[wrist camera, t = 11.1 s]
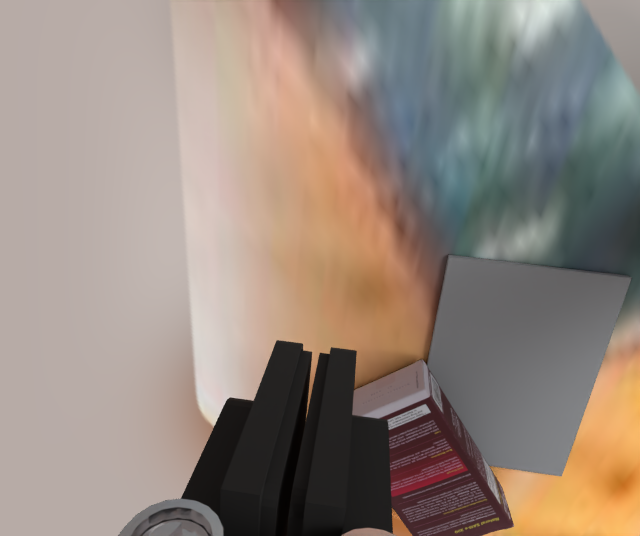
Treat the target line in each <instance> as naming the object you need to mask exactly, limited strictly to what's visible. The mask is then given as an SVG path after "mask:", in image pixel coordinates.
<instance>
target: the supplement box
mask: <svg viewBox="0 0 640 536" xmlns="http://www.w3.org/2000/svg"><path fill="white" fill-rule="evenodd" d="M352 415H357V416H364V417H372V418H379V419H386V420H388V426H389V450H390V476H391V502H392V507H393V509H394V510H395V511H396V513H397V514H398V516H399V517H400V519H401V520H402V521H403V523H404V524H405V525H406V527H407V528H408V530H409V531H410V533H411V534H412V535H413V536H482V535H485V534H487V533H490V532H494V531H498V530H501V529H508V528H512V527H514V524H513V521H512V518H511V514H510V511H509V508H508V504H507V501H506V498H505V495H504V492H503V489H502V487H501V485H500V483H499V482H498V480H497V478H496V477H495V475H494V473H493V472H492V470H491V469H490V467H489V465H488V464H487V462H486V460H485V459H484V457H483V456H482V454H481V452H480V451H479V449H478V447H477V446H476V444H475V443H474V441H473V439H472V438H471V436H470V435H469V433H468V431H467V430H466V428H465V426H464V425H463V423H462V422H461V420H460V418H459V417H458V415H457V414H456V412H455V410H454V409H453V407H452V405H451V404H450V402H449V401H448V399H447V397H446V396H445V394H444V392H443V391H442V389H441V388H440V386H439V384H438V383H437V381H436V379H435V378H434V376H433V375H432V373H431V371H430V370H429V368H428V366H427V365H426V363H425V362H424V360H422V359H421V360H419V361H417V362H415V363H414V364H411V365H409V366H407V367H405V368H403V369H400V370H398V371H396V372H394V373H391V374H389V375H387V376H385V377H382V378H380V379H378V380H376V381H374V382H371V383H369V384H367V385H365V386H362V387H360V388H358V389H355V390H354V397H353V411H352Z"/></svg>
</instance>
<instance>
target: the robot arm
mask: <svg viewBox="0 0 640 536" xmlns="http://www.w3.org/2000/svg"><path fill="white" fill-rule="evenodd" d="M356 352H357V351H355V350H347V349H339V348H332V347H331V350H330V354H324V353H320V355H319V360H318V365H317V369H316V374H315V379H314V384H313V389H312V394H311V399H310V404H309V409H308V414H307V419H306V413H307V402H308V392H309V381H310V371H311V360H312V352H309V351H303V344H301V343H294V342H286V341H279V340H277V341H276V344H275V346H274V349H273V352H272V354H271V357H270V360H269V362H268V365H267V367H266V370H265V373H264V375H263V378H262V381H261V383H260V386H259V389H258V391H257V394H256V397H255V399H254V401H251V400H244V399H237V398H229V399H227V401H226V403H225V405H224V407H223V409H222V411H221V413H220V416H219V418H218V420H217V422H216V424H215V426H214V428H213V431H212V433H211V435H210V437H209V440H208V441H207V444H206V446H205V448H204V450H203V452H202V454H201V457H200V459H199V461H198V463H197V465H196V467H195V470H194V472H193V474H192V476H191V478H190V480H189V483H188V485H187V487H186V489H185V491H184V493H183V495H182V498H181V499H175V500H166V501H163V502H160V503H157V504H154V505H151V506H149V507H148V508H146V509H145V510H143V511H141V512H140V513H138V514H137V515H136V516H135V517H134V518H133V519H132V520H131V521H130V522H129V523H128V524H127V525H126V526H125V527H124V529H123V530H122V531H121V532H120V534H119V535H118V536H396V535H394V534H393V531H392V530H393V528H392V502H391V476H390V450H389V426H388V420H386V419H379V418H372V417H364V416H357V415H352V411H353V397H354V382H355V367H356Z"/></svg>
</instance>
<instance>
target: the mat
mask: <svg viewBox="0 0 640 536" xmlns="http://www.w3.org/2000/svg"><path fill="white" fill-rule="evenodd" d="M631 279H632V278H631V277H630V276H627V275H619V274H610V273H602V272H593V271H585V270H576V269H567V268H559V267H550V266H542V265H533V264H525V263H516V262H508V261H499V260H491V259H482V258H474V257H465V256H457V255H448V259H447V264H446V269H445V274H444V279H443V284H442V289H441V294H440V299H439V304H438V309H437V314H436V319H435V325H434V330H433V335H432V340H431V345H430V350H429V355H428V360H427V366H428V368H429V370H430V371H431V373H432V375H433V376H434V378H435V379H436V381H437V383H438V384H439V386H440V388H441V389H442V391H443V392H444V394H445V396H446V397H447V399H448V401H449V402H450V404H451V405H452V407H453V409H454V410H455V412H456V414H457V415H458V417H459V418H460V420H461V422H462V423H463V425H464V426H465V428H466V430H467V431H468V433H469V435H470V436H471V438H472V439H473V441H474V443H475V444H476V446H477V447H478V449H479V451H480V452H481V454H482V456H483V457H484V459H485V460H486V462H487V464H488V465H489V466H494V467H501V468H508V469H514V470H521V471H528V472H535V473H542V474H549V475H556V476H562V474H563V471H564V468H565V465H566V462H567V460H568V457H569V454H570V451H571V448H572V446H573V443H574V440H575V437H576V434H577V431H578V429H579V426H580V423H581V420H582V417H583V414H584V412H585V409H586V406H587V403H588V400H589V398H590V395H591V392H592V389H593V386H594V383H595V381H596V378H597V375H598V372H599V369H600V366H601V364H602V361H603V358H604V355H605V352H606V350H607V347H608V344H609V341H610V338H611V335H612V333H613V330H614V327H615V324H616V321H617V318H618V316H619V313H620V310H621V307H622V304H623V302H624V299H625V296H626V293H627V290H628V287H629V285H630V282H631Z"/></svg>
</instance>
